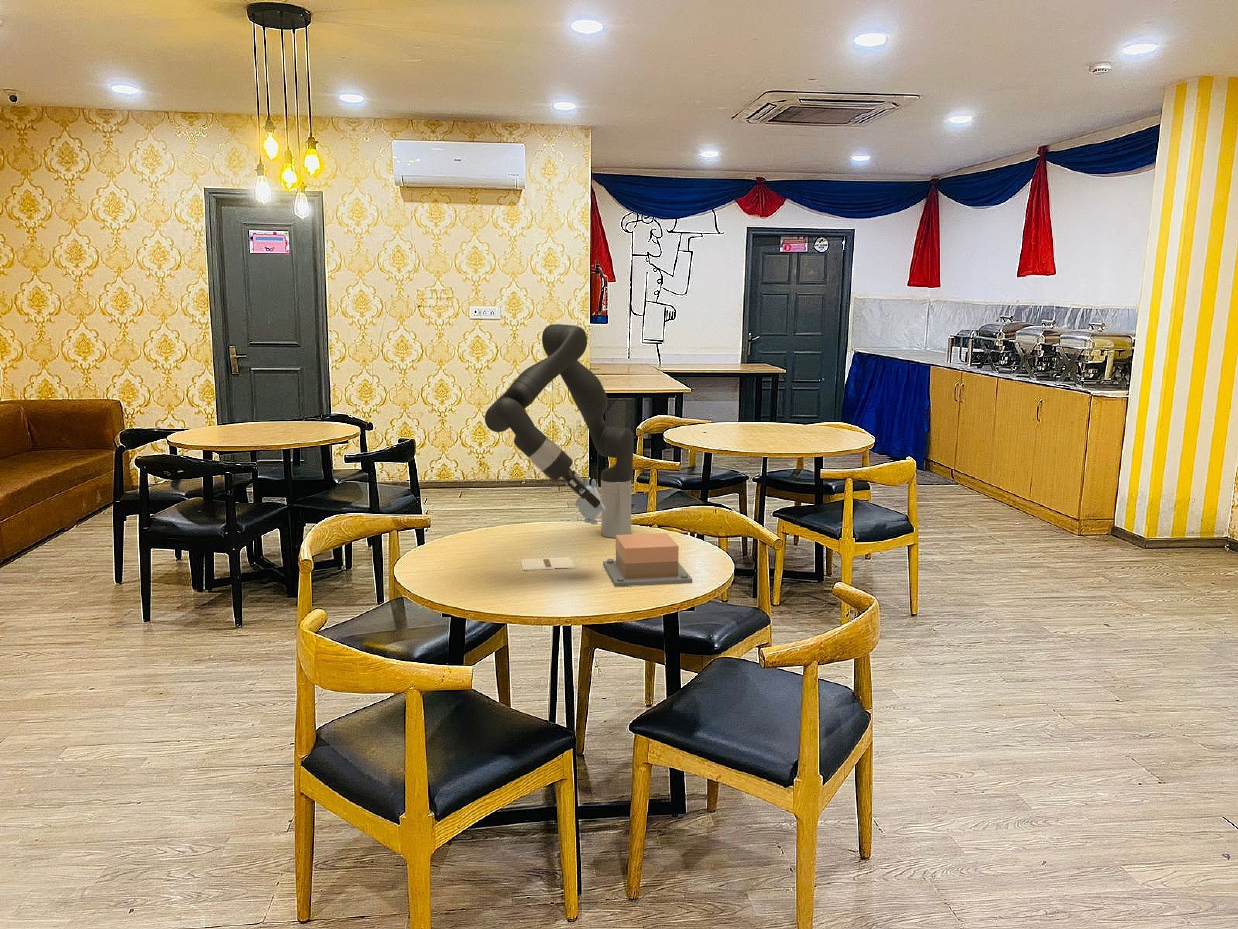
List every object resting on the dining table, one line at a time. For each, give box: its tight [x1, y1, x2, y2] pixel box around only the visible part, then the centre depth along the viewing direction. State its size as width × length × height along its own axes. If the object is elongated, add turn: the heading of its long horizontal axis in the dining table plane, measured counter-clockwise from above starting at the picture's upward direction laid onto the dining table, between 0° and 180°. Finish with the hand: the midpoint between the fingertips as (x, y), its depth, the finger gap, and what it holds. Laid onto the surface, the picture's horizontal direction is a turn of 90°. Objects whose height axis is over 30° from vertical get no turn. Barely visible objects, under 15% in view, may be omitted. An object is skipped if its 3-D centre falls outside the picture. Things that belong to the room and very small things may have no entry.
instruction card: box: [520, 556, 576, 572], centre depth 252 cm, size 10×14×1 cm
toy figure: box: [574, 477, 605, 525], centre depth 238 cm, size 11×6×12 cm, turn 48°
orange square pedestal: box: [602, 532, 693, 588], centre depth 242 cm, size 20×20×9 cm
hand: (596, 502), depth 239 cm, fingers closed on toy figure, 6 cm apart
